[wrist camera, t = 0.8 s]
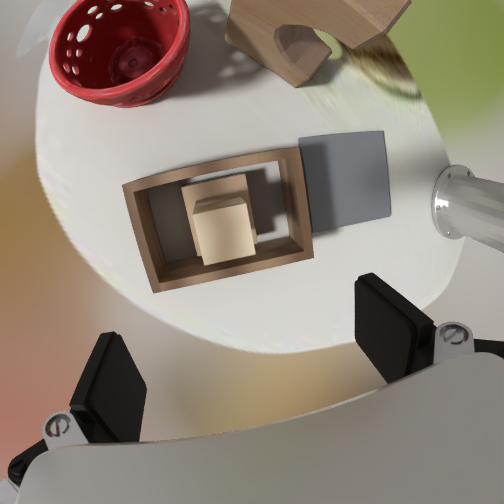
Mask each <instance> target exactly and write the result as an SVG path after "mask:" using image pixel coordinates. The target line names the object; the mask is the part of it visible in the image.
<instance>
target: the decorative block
mask: <svg viewBox="0 0 504 504" xmlns="http://www.w3.org/2000/svg"><path fill="white" fill-rule="evenodd" d="M410 4H411V0H232V2H231V7H230V13H229V18H228V23H227V29H226V34H225V42H227V43H229V44H230V45H232V46H234V47H235V48H237V49H239V50H240V51H242V52H243V53H245V54H247V55H248V56H250V57H251V58H253V59H254V60H256V61H257V62H259V63H261V64H262V65H264V66H265V67H267V68H268V69H269V70H271V71H272V72H274V73H275V74H277V75H278V76H280V77H281V78H282V79H284V80H285V81H287V82H288V83H289V84H291V85H292V86H293V87H295V88H298V87H300V86H302V85H303V84H305V83H306V82H308V81H309V80H310V79H311V78H312V77H313V76H314V74H315V73H316V72H317V71H318V69H319V68H320V67H321V66H322V64H323V63H324V62H325V61H326V60H327V58H328V57H329V56H330V55H331V54H332V50H331V49H330V47H328V46H327V45H326V44H325V43H324V42H323V41H322V40H321V39H320V38H319V37H318V36H317V35H316V33H315V32H314V30H313V29H312V28H314V29H318V30H320V31H323V32H326V33H328V34H330V35H332V36H333V37H335V38H336V39H338V40H339V41H341V42H342V43H344V44H345V45H347V46H348V47H350V48H351V49H355V50H359V49H360V48H362V47H364V46H366V45H367V44H369V43H371V42H373V41H374V40H376V39H378V38H380V37H382V36H383V35H385V34H387V33H388V32H389V31H390V29H391V28H392V27H393V25H394V24H395V23H396V22H397V20H398V19H399V18H400V16H401V15H402V14H403V13H404V12H405V10H406V9H407V8H408V6H409V5H410Z"/></svg>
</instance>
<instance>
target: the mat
mask: <svg viewBox="0 0 504 504" xmlns="http://www.w3.org/2000/svg"><path fill="white" fill-rule="evenodd" d="M298 139H299V145H300V151H301V157H302V163H303V170H304V176H305V183H306V190H307V197H308V205H309V212H310V220H311V228H312V232H313V233H315V232H319V231H324V230H329V229H333V228H338V227H343V226H347V225H352V224H357V223H361V222H366V221H371V220H376V219H380V218H385V217H390V197H389V183H388V172H387V162H386V153H385V145H384V137H383V131H371V132H355V133H343V134H331V135H322V136H312V137H304V138H298Z"/></svg>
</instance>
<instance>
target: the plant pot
mask: <svg viewBox="0 0 504 504" xmlns="http://www.w3.org/2000/svg"><path fill="white" fill-rule="evenodd" d="M144 2H150V3H152V4H153V5H154V6H149V5H147V4H145V3H144ZM117 4H120V5H122V7H120V8H119V9H116V10H112V9H111V8H112V7H113V6H114V5H117ZM94 6H97V8H96V9H95V10H94V11H93V12H92V13H90V14H87V13H88V10H89V9H90V8H92V7H94ZM163 8H164V9H166V11H167V12H166V11H165V10H164V9H163ZM99 13H103V14H102V16H101V17H100V18H98V19H96V16H97V15H98V14H99ZM87 24H88V25H89V31H88V33H87V35H86V37H85V38H84V39H83V40H82V41H80V42H78V41H77V35H78V32H79V30H80V29H81V27H83V26H84V25H87ZM69 33H70V34H71V35H70V38H69V40H67V37H68V35H69ZM189 39H190V15H189V10H188V6H187V4H186V2H185V0H77V1H76V2H75V3H74V4H73V5H72V6H71V7H70V8H69V9H68V10H67V12H66V13H65V14H64V16H63V17H62V18H61V20H60V22H59V23H58V25H57V27H56V29H55V31H54V34H53V37H52V40H51V44H50V48H49V65H50V69H51V72H52V74H53V76H54V78H55V80H56V81H57V83H58V84H59V85H60V86H61V87H62V88H63V89H64V90H66V91H67V92H68V93H70V94H72V95H74V96H76V97H78V98H80V99H83V100H85V101H89V102H92V103H95V104H100V105H109V106H114V107H119V108H132V107H138V106H142V105H145V104H147V103H150V102H152V101H154V100H155V99H157V98H158V97H160V96H161V95H163V94H164V93H165V92H166V91H167V90H168V89H169V88H170V87H171V86H172V85H173V83H174V82H175V81H176V79H177V77H178V76H179V74H180V71H181V69H182V66H183V61H184V59H185V56H186V53H187V50H188V46H189ZM77 49H78V56H76V51H77ZM67 50H68V56H67ZM63 65H64V67H65V69H64V67H63ZM72 67H73V68H74V70H75V73H76V75H75V74H74V73H73V70H72Z"/></svg>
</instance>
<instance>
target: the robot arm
mask: <svg viewBox="0 0 504 504" xmlns="http://www.w3.org/2000/svg"><path fill="white" fill-rule="evenodd" d="M432 216H433V220H434V223H435V226H436V228H437V230H438V231H439V233H441V234H442V235H443V236H445V237H447V238H449V239H459V238H461V237H463V236H464V235H465V236H468V237H470V238H472V239H475V240H477V241H479V242H482V243H484V244H486V245H488V246H490V247H493V248H495V249H497V250H499V251H501V252H503V253H504V184H503V183H498V182H494V181H490V180H485V179H480V178H476V177H475V176H474V174H473V173H472V172H471V171H470V170H469V169H468V168H467V167H465V166H462V165H452V166H449V167H448V168H446V169H445V170H444V171H443V172H442V174H441V175H440V177H439V178H438V180H437V182H436V185H435V188H434V192H433V197H432ZM433 323H434V321H433V320H432V319H430V318H429V317H428V316H427V315H426V314H424V313H423V312H422V311H421V310H419V309H418V308H417V307H416V306H415V305H413V304H412V303H411V302H410V301H408V300H407V299H406V298H405V297H403V296H402V295H401V294H400V293H398V292H397V291H396V290H395V289H393V288H392V287H391V286H389V285H388V284H387V283H386V282H384V281H383V280H382V279H380V278H379V277H378V276H377V275H375V274H374V273H368V274H365V275H361V276H359V277H358V280H357V281H355V339H356V342H357V344H358V345H359V346H360V348H361V349H362V350H363V352H364V353H365V354H366V356H367V357H368V358H369V359H370V361H371V362H372V363H373V365H374V366H375V367H376V368H377V370H378V371H379V373H380V374H381V375H382V377H383V378H384V379H385V381H386V382H387V383H388V384H387V385H385V386H382V387H380V388H377V389H375V390H372V391H370V392H368V393H365V394H362V395H359V396H357V397H354V398H351V399H349V400H346V401H343V402H340V403H337V404H334V405H331V406H328V407H325V408H322V409H319V410H315V411H312V412H309V413H305V414H302V415H298V416H295V417H291V418H288V419H284V420H280V421H276V422H272V423H268V424H264V425H259V426H255V427H250V428H245V429H240V430H235V431H229V432H223V433H218V434H211V435H205V436H198V437H190V438H181V439H172V440H160V441H146V442H139V439H140V432H141V424H142V418H143V411H144V405H145V398H146V393H147V388H146V384H145V382H144V380H143V379H142V376H141V375H140V373H139V371H138V369H137V367H136V365H135V363H134V361H133V359H132V357H131V355H130V353H129V351H128V349H127V347H126V345H125V343H124V341H123V339H122V337H121V335H119V334H118V335H117V334H116V333H115V332H114V331H113V332H107V333H102V334H100V336H99V338H98V340H97V342H96V345H95V347H94V349H93V351H92V353H91V355H90V357H89V359H88V362H87V364H86V366H85V368H84V371H83V373H82V375H81V378H80V380H79V382H78V384H77V387H76V389H75V391H74V394H73V396H72V399H71V401H70V404H69V405H70V407H71V410H70V412H67V411H58V412H55V413H53V414H52V415H50V416H49V417H48V418H47V419H46V420H45V422H44V424H43V427H42V434H43V437H44V439H42V440H41V441H39V442H38V443H36V444H35V445H33V446H32V447H30V448H28V449H27V450H25V451H24V452H22V453H21V454H20V455H18V456H16V457H15V458H14V459H13V460H12V461H11V463H10V464H9V467H8V477H9V479H7V478H5V477H4V479H3V480H2V481H1V482H0V504H504V341H503V342H502V341H491V340H481V339H473V334H472V331H471V330H470V328H469V327H467V326H465V325H464V324H462V323H459V322H446V323H443V324H441V325H440V326H439V327H438V328H437V327H436V326H435V325H434V324H433Z"/></svg>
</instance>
